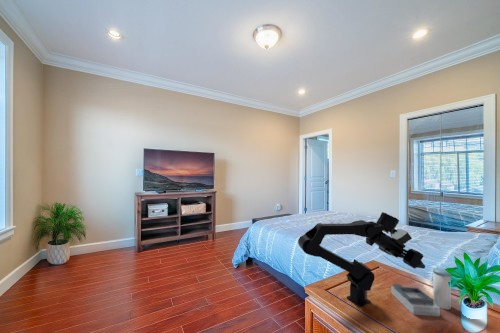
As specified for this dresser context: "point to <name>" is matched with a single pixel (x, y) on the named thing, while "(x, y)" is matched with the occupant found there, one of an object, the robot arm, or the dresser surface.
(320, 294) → the dresser surface
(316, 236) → the robot arm
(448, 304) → the lidded container
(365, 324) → the dresser surface
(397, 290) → the digital kitchen scale
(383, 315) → the dresser surface
